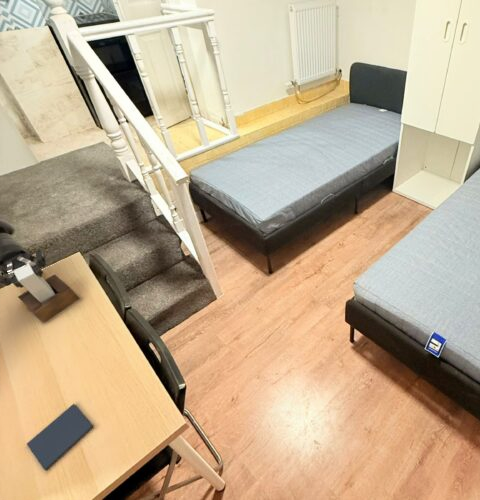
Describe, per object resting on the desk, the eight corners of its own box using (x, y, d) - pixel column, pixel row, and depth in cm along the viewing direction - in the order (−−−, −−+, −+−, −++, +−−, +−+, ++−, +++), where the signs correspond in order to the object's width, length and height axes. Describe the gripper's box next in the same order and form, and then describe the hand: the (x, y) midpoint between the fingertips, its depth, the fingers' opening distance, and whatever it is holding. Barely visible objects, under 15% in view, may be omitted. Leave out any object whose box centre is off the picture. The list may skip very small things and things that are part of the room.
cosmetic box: (37, 295, 106) (12, 270, 98) (52, 287, 108) (28, 262, 100) (43, 306, 103) (17, 281, 95) (58, 298, 105) (34, 272, 97)
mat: (46, 470, 74) (44, 469, 74) (28, 444, 78) (26, 443, 78) (93, 426, 80) (92, 425, 80) (75, 404, 84) (73, 403, 84)
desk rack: (43, 322, 102) (33, 313, 99) (27, 306, 107) (17, 296, 104) (79, 298, 109) (71, 288, 105) (63, 283, 114) (54, 274, 110)
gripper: (-26, 259, 99) (-8, 286, 91) (27, 233, 106) (48, 257, 98) (-8, 275, 104) (11, 303, 96) (42, 250, 112) (63, 273, 104)
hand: (30, 279), depth 97 cm, fingers closed on cosmetic box, 4 cm apart
